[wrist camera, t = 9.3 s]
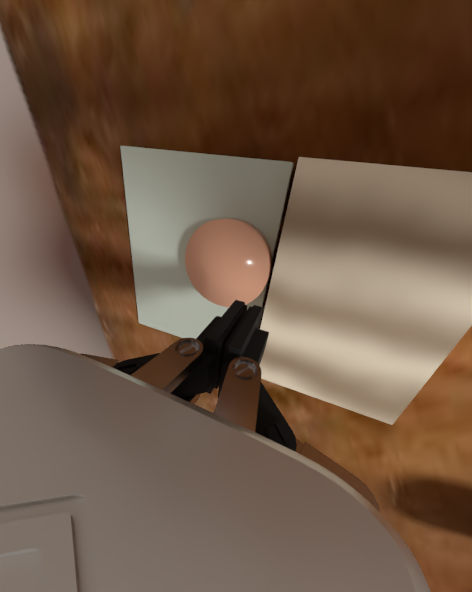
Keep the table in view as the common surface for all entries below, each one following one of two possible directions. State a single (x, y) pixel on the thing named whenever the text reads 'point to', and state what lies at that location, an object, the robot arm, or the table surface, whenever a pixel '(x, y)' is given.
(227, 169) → the mat
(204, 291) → the peach rounded disc
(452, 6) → the table surface
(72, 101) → the table surface
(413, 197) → the beige striped flat block
